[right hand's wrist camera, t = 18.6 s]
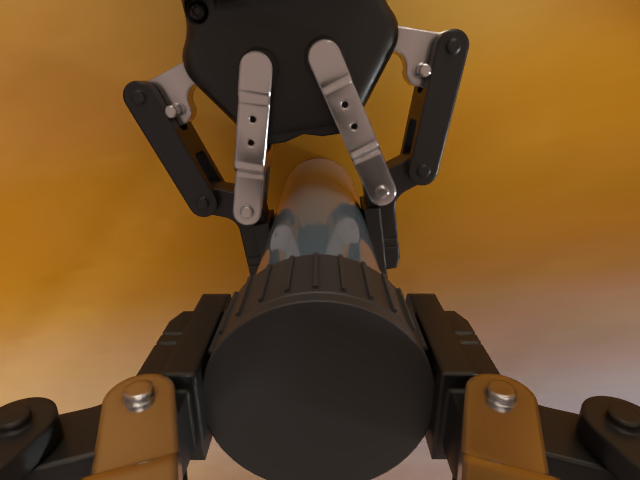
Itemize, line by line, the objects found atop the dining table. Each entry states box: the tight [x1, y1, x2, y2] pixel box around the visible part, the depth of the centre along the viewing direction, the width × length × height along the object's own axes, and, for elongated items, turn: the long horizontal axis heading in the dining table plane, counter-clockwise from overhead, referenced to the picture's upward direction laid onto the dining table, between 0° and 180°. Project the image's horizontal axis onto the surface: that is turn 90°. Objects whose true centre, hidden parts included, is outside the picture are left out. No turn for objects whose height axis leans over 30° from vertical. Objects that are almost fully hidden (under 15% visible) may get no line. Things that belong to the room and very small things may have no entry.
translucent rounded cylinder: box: [256, 158, 381, 274], centre depth 18 cm, size 4×4×17 cm
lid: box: [203, 252, 434, 480], centre depth 10 cm, size 5×5×2 cm
